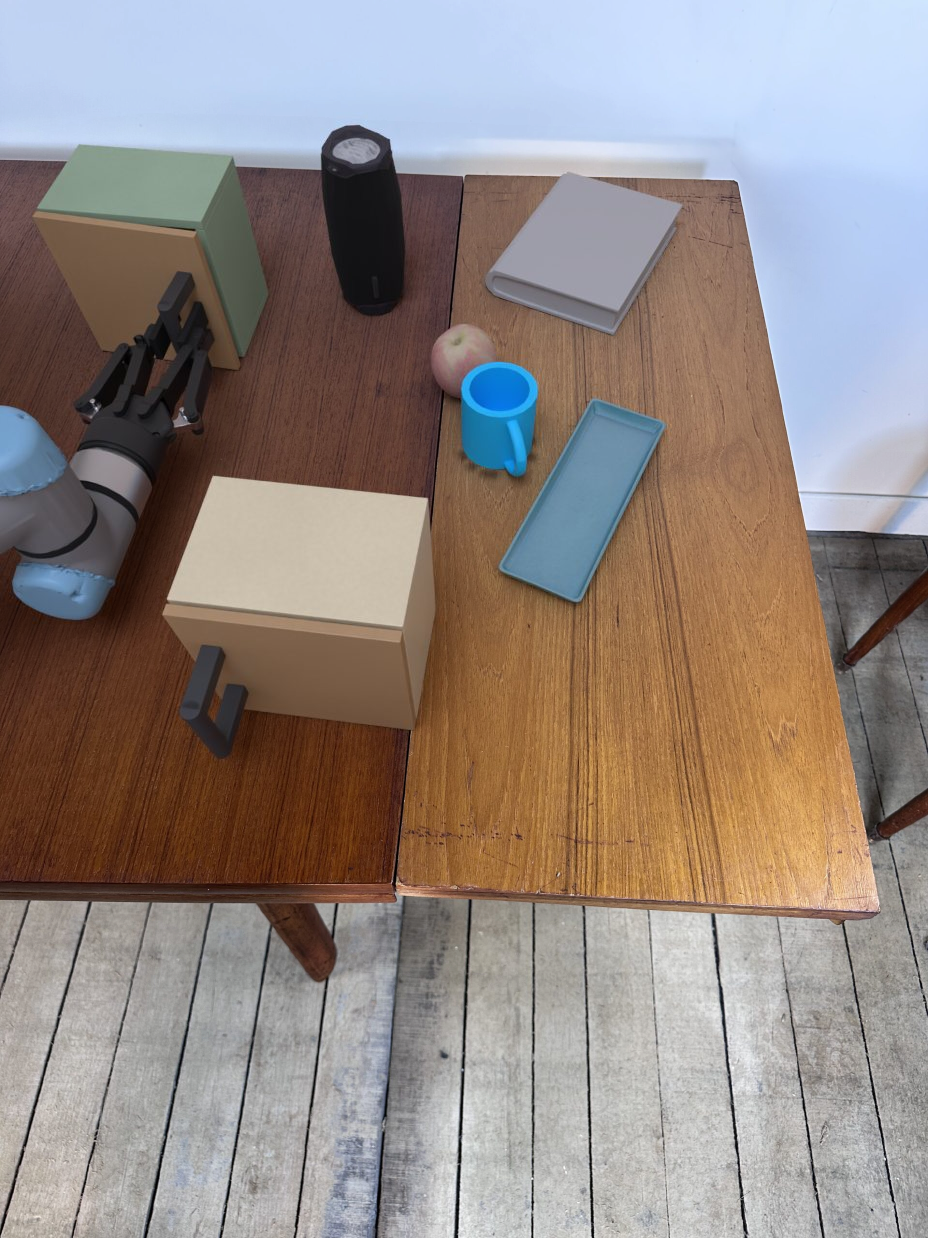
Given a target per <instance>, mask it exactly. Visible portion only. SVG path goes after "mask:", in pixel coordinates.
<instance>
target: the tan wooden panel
mask: <svg viewBox="0 0 928 1238" xmlns="http://www.w3.org/2000/svg"><path fill="white" fill-rule="evenodd" d="M31 217H32V219H33V222H34V223H35V225H36V227H37V229H38V231H39V232H40V235H41V237H42V239H43V241H44V242H45V245H46V246H47V248H48V250H49V251H50V255H51V256H52V258H53V260H54V262H55V263H56V265H57V268H58V269H59V271H60V273H61V275H62V277H63V279H64V282H66V284H67V287H68V288H69V290H70V293H71V294H72V296H73V298H74V300H75V302H76V304H77V306H78V308H79V311H80V312H81V313H82V315H83V317H84V319H85V321H86V323H87V325H88V327H89V329H90V331H91V333H92V334H93V337H94V338H95V340H96V342H97V344H98V346H99V348H100V350H101V351H106V352H112V353H114V351H115V350H116V348H117V347H118V345H119V344H121V343H127V344H128V345H129V346H133V345H136V343H135V341H134V339H133V338H134V336H136V335H139V334H141V335H144V333H145V331H146V329H147V327H148V326H149V325H150V324H155V323H156V321H157V319H158V317H159V315H160V316H161V318H162V321H163V323H164V325H165V328H166V330H167V333H168V335H169V337H170V340H171V344H170V346H169V348H168V350H167V352H166V354H165V357H164V359H163V360H166V361H171V362H173V360H174V358H175V357H176V355H177V354H178V352H179V351H180V348H179V346H178V344H177V340H178V337H179V335H180V333H181V331H182V329H183V327H184V324H185V322H186V320H187V318H188V316H189V313H190V311H191V309H192V307H193V305H194V302H195V301H198V302H202V305H203V307H204V310H205V313H206V316H207V319H208V325H207V327H206V329H205V332H204V333H205V336H206V340H207V342H206V344H205V347H204V349H203V350H205V351H206V352H207V354H208V356H209V359H210V362H211V364H212V367H213V368H220V369H228V370H234V371H239V370H240V367H241V365H242V364H241V361H240V357H238V355H237V352H236V349H235V346H234V343H233V340H232V336H231V333H230V330H229V327H228V324H227V321H226V318H225V315H224V312H223V309H222V306H221V303H220V300H219V297H218V294H217V291H216V288H215V285H214V282H213V279H212V276H211V273H210V270H209V267H208V264H207V260H206V257H205V254H204V251H203V248H202V245H201V242H200V239H199V236H198V233H197V232H196V231H188V230H180V229H173V228H165V227H157V226H149V225H142V224H134V223H126V222H118V221H111V220H103V219H95V218H87V217H79V216H72V215H64V214H56V213H48V212H41V211H38V210H36V211H35V212H34V213H33V214H32V216H31ZM179 314H180V317H181V319H182V320H181V322H179V319H178V315H179ZM154 359H157V358H156V356H155V355H154Z"/></svg>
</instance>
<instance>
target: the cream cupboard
mask: <svg viewBox="0 0 928 1238" xmlns="http://www.w3.org/2000/svg"><path fill="white" fill-rule="evenodd" d="M429 505H430V503H429V498H428V497H421V496H411V495H410V496H409V495H401V494H391V493H383V492H372V491H364V490H354V489H344V488H334V487H325V486H317V485H316V486H315V485H306V484H305V485H304V484H296V483H286V482H278V481H277V482H275V481H269V480H257V479H249V478H239V477H230V476H229V477H228V476H218V475H213V476H212V478H211V480H210V483H209V485H208V488H207V490H206V494H205V496H204V498H203V501H202V504H201V506H200V509H199V512H198V515H197V517H196V520H195V523H194V525H193V528H192V531H191V533H190V536H189V539H188V541H187V544H186V546H185V549H184V552H183V555H182V558H181V560H180V562H179V565H178V568H177V571H176V574H175V576H174V578H173V581H172V584H171V587H170V589H169V592H168V593H167V597H166V600H167V602H168V604H174V605H182V606H191V607H200V608H208V609H217V610H225V611H234V612H243V613H251V614H260V615H269V616H277V617H286V618H294V619H303V620H312V621H320V622H329V623H337V624H346V625H355V626H363V627H372V628H381V629H389V630H398V631H402V632H403V638H404V645H405V651H406V658H407V665H408V671H409V678H410V684H411V691H412V697H413V704H414V711H415V717H416V720H417V718H418V714H419V708H420V703H421V697H422V691H423V685H424V681H425V675H426V668H427V663H428V657H429V651H430V645H431V640H432V634H433V629H434V628H433V627H434V622H435V617H436V611H437V608H436V607H437V606H436V594H435V593H436V592H435V576H434V563H433V548H432V533H431V519H430V507H429Z"/></svg>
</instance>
